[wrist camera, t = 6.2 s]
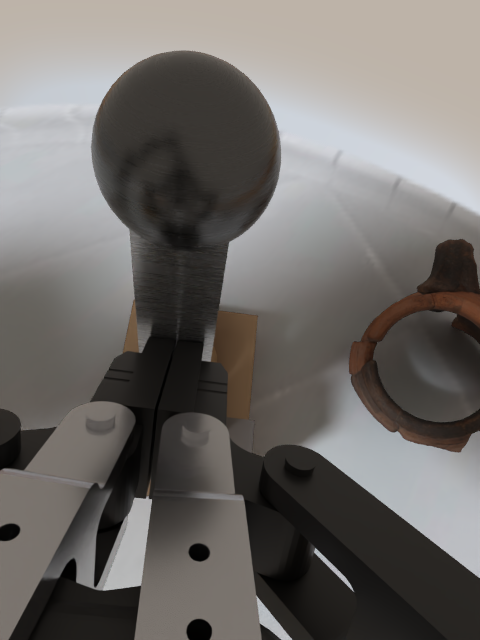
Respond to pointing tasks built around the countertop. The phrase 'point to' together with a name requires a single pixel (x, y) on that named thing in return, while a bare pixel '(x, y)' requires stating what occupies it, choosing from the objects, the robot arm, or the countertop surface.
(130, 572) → the countertop surface
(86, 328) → the countertop surface
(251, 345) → the nutcracker base
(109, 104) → the lever
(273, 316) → the countertop surface
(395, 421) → the pottery mug
